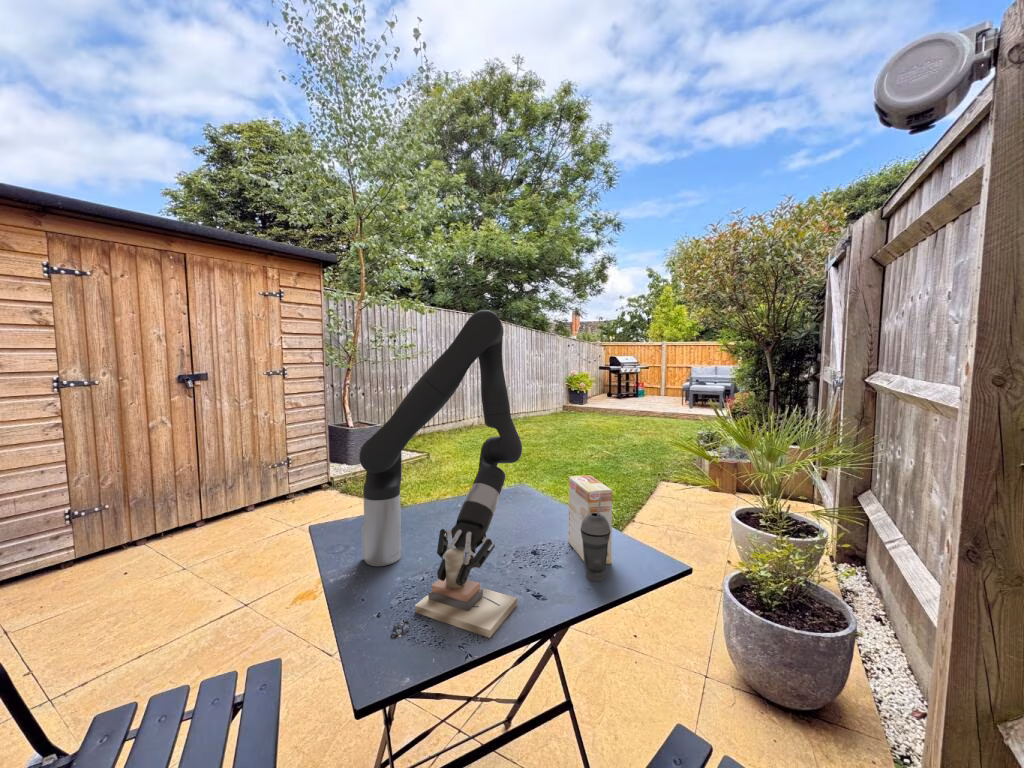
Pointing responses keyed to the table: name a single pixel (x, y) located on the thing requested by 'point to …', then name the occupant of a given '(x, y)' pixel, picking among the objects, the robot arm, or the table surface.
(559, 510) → the table surface
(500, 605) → the board
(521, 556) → the table surface
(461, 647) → the table surface
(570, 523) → the coffeecake box
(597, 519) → the beverage cup
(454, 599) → the block
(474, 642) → the table surface
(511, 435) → the robot arm
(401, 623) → the gravel pile
